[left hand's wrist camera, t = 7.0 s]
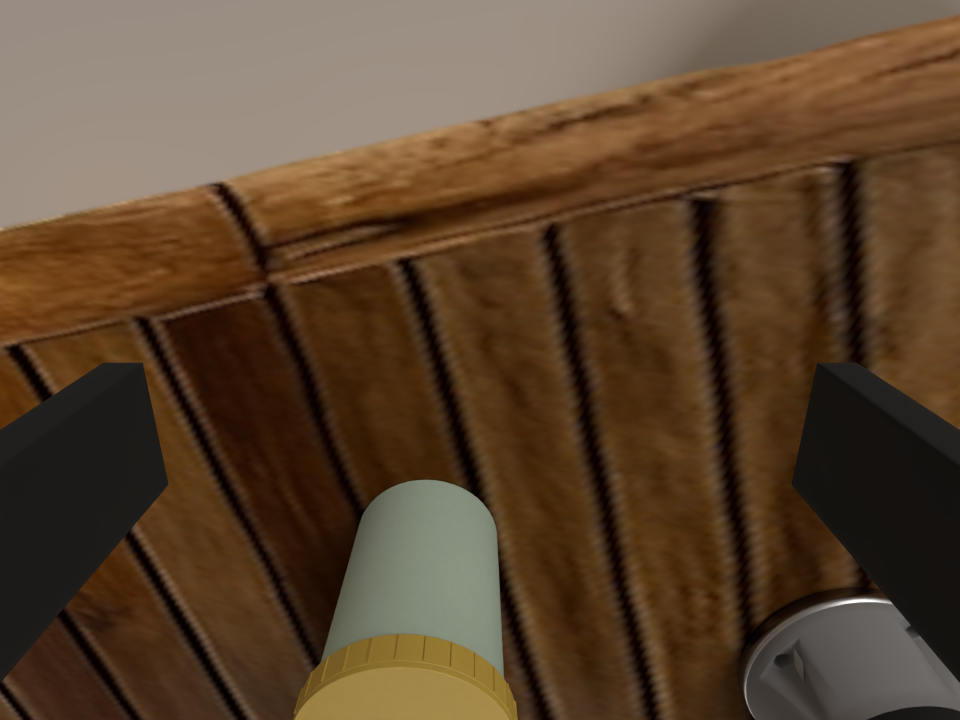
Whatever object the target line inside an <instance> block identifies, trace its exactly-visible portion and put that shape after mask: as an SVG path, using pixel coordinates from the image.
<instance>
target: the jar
mask: <svg viewBox="0 0 960 720" xmlns="http://www.w3.org/2000/svg"><path fill="white" fill-rule="evenodd" d="M391 634H415V635H424V636H431V637H436V638H440V639H444V640H447V641H451V642H453V643H456V644H458V645H461V646H463V647H465V648H467V649H469V650H471V651H473V652H475V653H477V654H478V655H479V656H481V657H482V658H484V659H485V660H487V661H488V662H489V663H490V664H491V665H492V666H493V667H495V668H496V670H497V671H498V672H499V673H500V674H501V675H502V677H503V678H504V671H503V651H502V630H501V609H500V589H499V568H498V547H497V531H496V526H495V523H494V520H493V518H492V516H491V514H490V512H489V511H488V509H487V508H486V507H485V505H484V504H483V503H482V502H481V501H480V500H479V499H478V498H477V497H475V496H474V495H473V494H471V493H470V492H468V491H467V490H465V489H463V488H461V487H459V486H456V485H454V484H450V483H447V482H443V481H437V480H415V481H409V482H405V483H401V484H398V485H396V486H393V487H391V488H389V489H388V490H386V491H384V492H383V493H381V494H380V495H379V496H377V497H376V498H375V499H374V500H373V501H372V502H371V503H370V504H369V506H368V507H367V509H366V510H365V512H364V514H363V516H362V518H361V521H360V524H359V528H358V531H357V535H356V538H355V542H354V546H353V549H352V553H351V556H350V560H349V563H348V567H347V571H346V574H345V578H344V581H343V585H342V588H341V592H340V596H339V599H338V603H337V606H336V610H335V613H334V617H333V621H332V624H331V628H330V631H329V635H328V638H327V642H326V646H325V649H324V653H323V656H322V660H321V662H323V661H324V660H325V659H326V658H327V657H328V656H330V655H332V654H333V653H334V652H336V651H338V650H340V649H342V648H344V647H345V646H347V645H350V644H352V643H355V642H358V641H360V640H364V639H368V638H372V637H376V636H383V635H391Z"/></svg>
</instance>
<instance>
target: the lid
mask: <svg viewBox="0 0 960 720" xmlns="http://www.w3.org/2000/svg"><path fill="white" fill-rule="evenodd" d="M294 714H295V715H294V718H293V720H518V719H517V709H516V701H514V698H513V695H512V693H511V690H510V688H509V684H508V683H506V681H505V680H504V678H503V677H502V675H501V674H500V673H499V672H498V671H497V670H496V668H495V667H493V666H492V665H491V664H490V663H489V662H488V661H487V660H485V659H484V658H482V657H481V656H479V655H478V654H477V653H475V652H473V651H471V650H469V649H467V648H465V647H463V646H461V645H458V644H456V643H453V642H451V641H447V640H444V639H440V638H436V637H431V636H424V635H415V634H391V635H383V636H376V637H372V638H368V639H364V640H360V641H358V642H355V643H352V644H350V645H347V646H345V647H344V648H342V649H340V650H338V651H336V652H334V653H333V654H332V655H330V656H328V657H327V658H326V659H325V660H324V661H323V662H321V663H320V664H319V665H318V666H317V667H316V668H315V670H314V671H311V674H310V676H309V678H308V679H307V681H306V683H305V685H304V687H303V688H301V691H300V694H299V697H298V701H297V704H296V707H295V711H294Z"/></svg>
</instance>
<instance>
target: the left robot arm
mask: <svg viewBox="0 0 960 720" xmlns="http://www.w3.org/2000/svg"><path fill="white" fill-rule="evenodd" d="M167 486H168V480H167V476H166V471H165V466H164V461H163V457H162V452H161V447H160V442H159V438H158V433H157V428H156V424H155V419H154V414H153V409H152V405H151V400H150V395H149V391H148V386H147V381H146V376H145V372H144V367H143V363H102V364H101V365H99V366H98V367H96V368H95V369H93V370H92V371H90V372H89V373H87V374H86V375H84V376H82V377H81V378H79V379H78V380H76V381H75V382H73V383H72V384H70V385H69V386H67V387H66V388H64V389H62V390H61V391H59V392H58V393H56V394H55V395H53V396H52V397H50V398H49V399H47V400H46V401H44V402H43V403H41V404H39V405H38V406H36V407H35V408H33V409H32V410H30V411H29V412H27V413H26V414H24V415H23V416H21V417H20V418H18V419H16V420H15V421H13V422H12V423H10V424H9V425H7V426H6V427H4V428H3V429H1V430H0V683H1V681H2V680H3V679H4V678H5V677H6V676H7V674H8V673H9V672H10V671H11V670H12V668H13V667H14V666H15V665H16V664H17V663H18V661H19V660H20V659H21V658H22V657H23V656H24V654H25V653H26V652H27V651H28V650H29V648H30V647H31V646H32V645H33V644H34V643H35V641H36V640H37V639H38V638H39V637H40V635H41V634H42V633H43V632H44V631H45V630H46V628H47V627H48V626H49V625H50V624H51V623H52V621H53V620H54V619H55V618H56V617H57V615H58V614H59V613H60V612H61V611H62V610H63V608H64V607H65V606H66V605H67V604H68V602H69V601H70V600H71V599H72V598H73V597H74V595H75V594H76V593H77V592H78V591H79V589H80V588H81V587H82V586H83V585H84V584H85V582H86V581H87V580H88V579H89V578H90V577H91V575H92V574H93V573H94V572H95V571H96V569H97V568H98V567H99V566H100V565H101V564H102V562H103V561H104V560H105V559H106V558H107V556H108V555H109V554H110V553H111V552H112V551H113V549H114V548H115V547H116V546H117V545H118V544H119V542H120V541H121V540H122V539H123V538H124V536H125V535H126V534H127V533H128V532H129V531H130V529H131V528H132V527H133V526H134V525H135V523H136V522H137V521H138V520H139V519H140V518H141V516H142V515H143V514H144V513H145V512H146V510H147V509H148V508H149V507H150V506H151V505H152V503H153V502H154V501H155V500H156V499H157V498H158V496H159V495H160V494H161V493H162V492H163V490H164V489H165V488H166V487H167ZM792 486H793V487H794V488H795V489H796V490H797V492H798V493H799V494H800V495H801V496H802V498H803V499H804V500H805V501H806V502H807V503H808V505H809V506H810V507H811V508H812V509H813V510H814V512H815V513H816V514H817V515H818V516H819V518H820V519H821V520H822V521H823V522H824V523H825V525H826V526H827V527H828V528H829V529H830V531H831V532H832V533H833V534H834V535H835V536H836V538H837V539H838V540H839V541H840V542H841V544H842V545H843V546H844V547H845V548H846V549H847V551H848V552H849V553H850V554H851V555H852V556H853V558H854V559H855V560H856V561H857V562H858V564H859V565H860V566H861V567H862V568H863V569H864V571H865V572H866V573H867V574H868V575H869V577H870V578H871V579H872V580H873V581H874V582H875V584H876V585H877V586H878V587H879V588H880V589H881V590H878V589H871V588H844V589H836V590H831V591H826V592H822V593H819V594H815V595H812V596H810V597H807V598H804V599H802V600H800V601H797V602H795V603H793V604H791V605H789V606H788V607H786V608H784V609H783V610H781V611H779V612H778V613H777V614H775V615H774V616H773V617H771V618H770V619H769V620H768V621H767V622H765V623H764V624H763V625H762V626H761V627H760V628H759V629H758V630H757V632H756V633H755V634H754V635H753V636H752V638H751V639H750V641H749V642H748V644H747V646H746V648H745V650H744V652H743V654H742V657H741V660H740V664H739V670H738V679H739V686H740V689H741V692H742V694H743V697H744V699H745V701H746V703H747V706H748V708H749V710H750V712H751V714H752V715H753V717H754V718H755V720H960V430H959V429H957V428H956V427H954V426H953V425H951V424H950V423H948V422H947V421H945V420H944V419H942V418H940V417H939V416H937V415H936V414H934V413H933V412H931V411H930V410H928V409H927V408H925V407H924V406H922V405H921V404H919V403H917V402H916V401H914V400H913V399H911V398H910V397H908V396H907V395H905V394H904V393H902V392H901V391H899V390H898V389H896V388H894V387H893V386H891V385H890V384H888V383H887V382H885V381H884V380H882V379H881V378H879V377H878V376H876V375H874V374H873V373H871V372H870V371H868V370H867V369H865V368H864V367H862V366H861V365H859V364H858V363H817V367H816V372H815V376H814V381H813V386H812V391H811V395H810V400H809V405H808V409H807V414H806V419H805V424H804V428H803V433H802V438H801V442H800V447H799V452H798V457H797V461H796V466H795V471H794V476H793V480H792Z"/></svg>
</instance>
